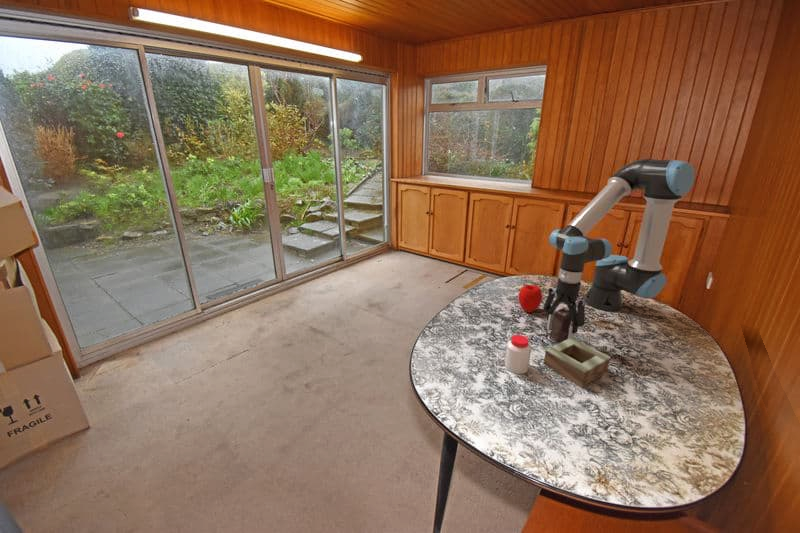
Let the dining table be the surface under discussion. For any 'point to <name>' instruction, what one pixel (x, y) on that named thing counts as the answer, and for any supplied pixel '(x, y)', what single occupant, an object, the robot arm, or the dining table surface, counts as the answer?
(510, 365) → the pill bottle
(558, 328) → the box
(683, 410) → the dining table surface
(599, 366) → the socket block
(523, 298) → the apple
